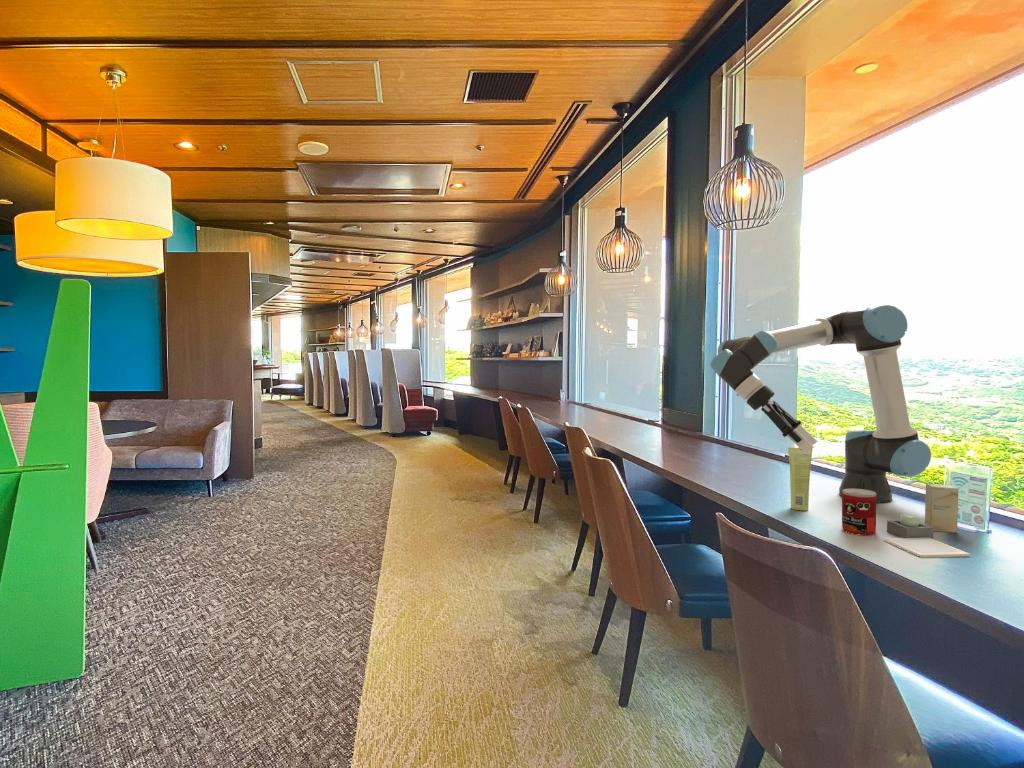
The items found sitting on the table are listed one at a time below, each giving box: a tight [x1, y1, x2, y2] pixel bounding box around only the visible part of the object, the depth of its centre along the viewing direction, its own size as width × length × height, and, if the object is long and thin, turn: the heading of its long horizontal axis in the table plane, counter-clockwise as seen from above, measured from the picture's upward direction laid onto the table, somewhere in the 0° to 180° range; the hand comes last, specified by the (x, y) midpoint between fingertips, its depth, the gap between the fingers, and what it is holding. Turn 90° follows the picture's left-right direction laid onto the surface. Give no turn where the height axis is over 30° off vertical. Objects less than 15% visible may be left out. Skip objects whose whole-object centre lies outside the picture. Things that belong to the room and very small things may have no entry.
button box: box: [886, 519, 934, 539], centre depth 142 cm, size 7×7×3 cm
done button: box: [899, 513, 920, 527], centre depth 142 cm, size 4×4×3 cm
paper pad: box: [882, 537, 971, 558], centre depth 132 cm, size 12×12×1 cm
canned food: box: [841, 488, 877, 536], centre depth 145 cm, size 8×8×11 cm
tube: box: [787, 447, 813, 511], centre depth 168 cm, size 6×5×20 cm
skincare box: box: [924, 483, 959, 533], centre depth 146 cm, size 6×4×12 cm
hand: (812, 447), depth 151 cm, fingers open, 13 cm apart
